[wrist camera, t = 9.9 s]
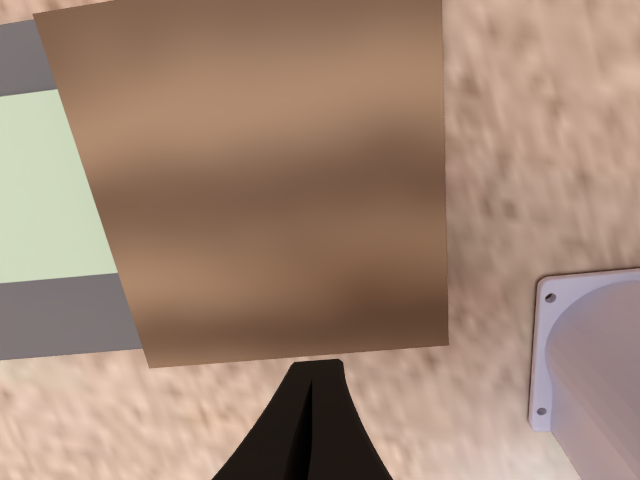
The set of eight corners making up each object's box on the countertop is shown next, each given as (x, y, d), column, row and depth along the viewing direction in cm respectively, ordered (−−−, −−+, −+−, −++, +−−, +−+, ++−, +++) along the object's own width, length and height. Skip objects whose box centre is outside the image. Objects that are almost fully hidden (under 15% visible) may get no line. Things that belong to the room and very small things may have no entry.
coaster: (141, 259, 19) (126, 272, 18) (-7, 273, 20) (-33, 286, 19) (92, 88, 17) (69, 87, 15) (-77, 110, 17) (-114, 111, 16)
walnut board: (433, 310, 20) (448, 345, 17) (174, 332, 21) (149, 368, 19) (422, -26, 15) (440, -54, 12) (85, 28, 16) (32, 13, 14)
